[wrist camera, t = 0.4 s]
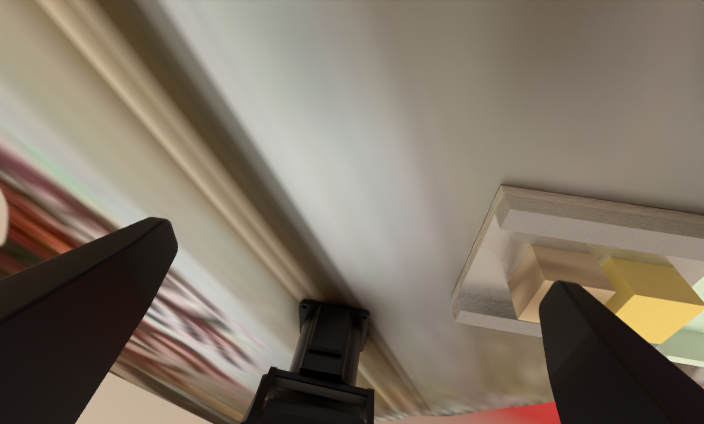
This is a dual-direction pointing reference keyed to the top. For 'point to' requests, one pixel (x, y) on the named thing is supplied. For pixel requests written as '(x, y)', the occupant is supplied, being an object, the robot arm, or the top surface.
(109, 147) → the top surface
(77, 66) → the top surface
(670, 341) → the tray
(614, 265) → the yellow block
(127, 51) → the top surface
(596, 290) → the oak chip
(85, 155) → the top surface
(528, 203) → the slot board
